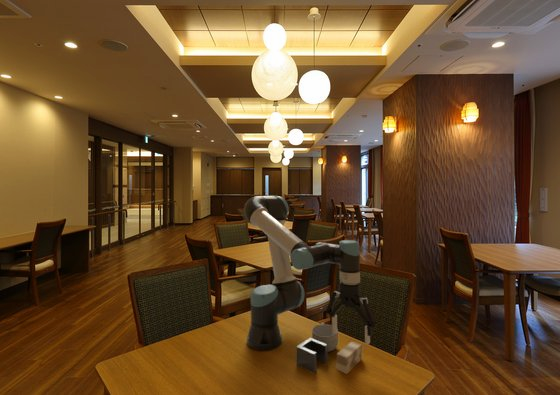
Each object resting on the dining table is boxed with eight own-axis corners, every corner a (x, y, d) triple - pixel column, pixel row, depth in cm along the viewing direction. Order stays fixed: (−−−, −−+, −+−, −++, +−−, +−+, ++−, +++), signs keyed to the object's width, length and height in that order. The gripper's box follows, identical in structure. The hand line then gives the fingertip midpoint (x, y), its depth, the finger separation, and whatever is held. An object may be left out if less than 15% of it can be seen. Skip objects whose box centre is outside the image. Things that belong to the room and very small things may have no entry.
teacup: (337, 356, 117) (337, 336, 117) (310, 353, 119) (310, 334, 119) (338, 339, 131) (338, 321, 131) (313, 337, 133) (313, 319, 133)
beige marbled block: (346, 374, 106) (346, 357, 106) (336, 369, 109) (336, 353, 109) (361, 359, 116) (361, 344, 115) (352, 355, 118) (352, 341, 118)
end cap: (327, 362, 113) (327, 344, 113) (314, 373, 107) (314, 354, 106) (310, 354, 119) (310, 337, 118) (296, 364, 112) (296, 346, 112)
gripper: (316, 278, 117) (317, 331, 117) (378, 291, 100) (378, 353, 101) (326, 274, 122) (327, 325, 123) (386, 285, 106) (387, 344, 106)
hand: (350, 338), depth 112 cm, fingers open, 13 cm apart
